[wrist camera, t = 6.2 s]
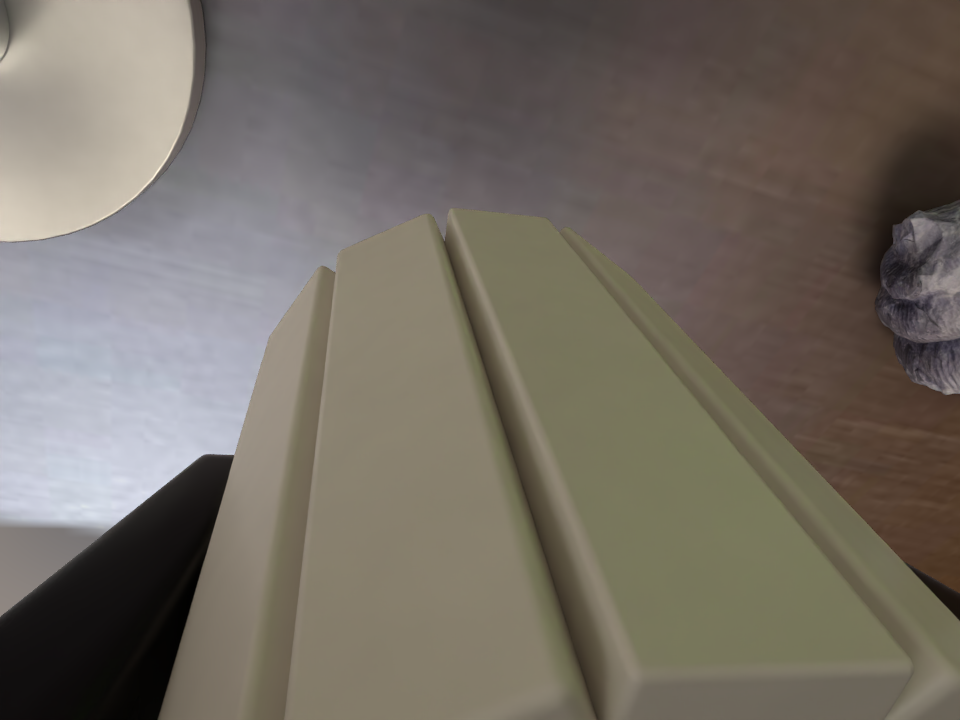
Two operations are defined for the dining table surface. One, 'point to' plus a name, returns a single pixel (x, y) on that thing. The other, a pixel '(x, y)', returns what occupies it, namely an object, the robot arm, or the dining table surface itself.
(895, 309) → the seashell
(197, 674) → the beige fluted tube
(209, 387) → the dining table surface
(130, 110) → the stand
